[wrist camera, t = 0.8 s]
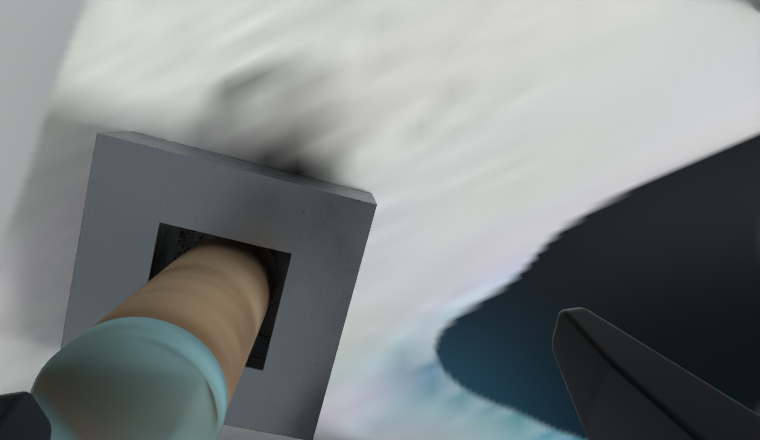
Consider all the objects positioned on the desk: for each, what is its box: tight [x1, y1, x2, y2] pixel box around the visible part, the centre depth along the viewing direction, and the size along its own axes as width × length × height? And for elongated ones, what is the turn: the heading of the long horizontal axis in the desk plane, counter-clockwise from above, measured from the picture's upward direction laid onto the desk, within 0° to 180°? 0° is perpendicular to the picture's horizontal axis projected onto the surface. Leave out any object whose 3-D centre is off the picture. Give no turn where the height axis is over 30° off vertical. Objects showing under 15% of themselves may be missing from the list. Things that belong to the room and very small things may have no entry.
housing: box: [61, 132, 377, 440], centre depth 23 cm, size 12×12×4 cm
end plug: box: [31, 234, 278, 440], centre depth 19 cm, size 5×5×12 cm
